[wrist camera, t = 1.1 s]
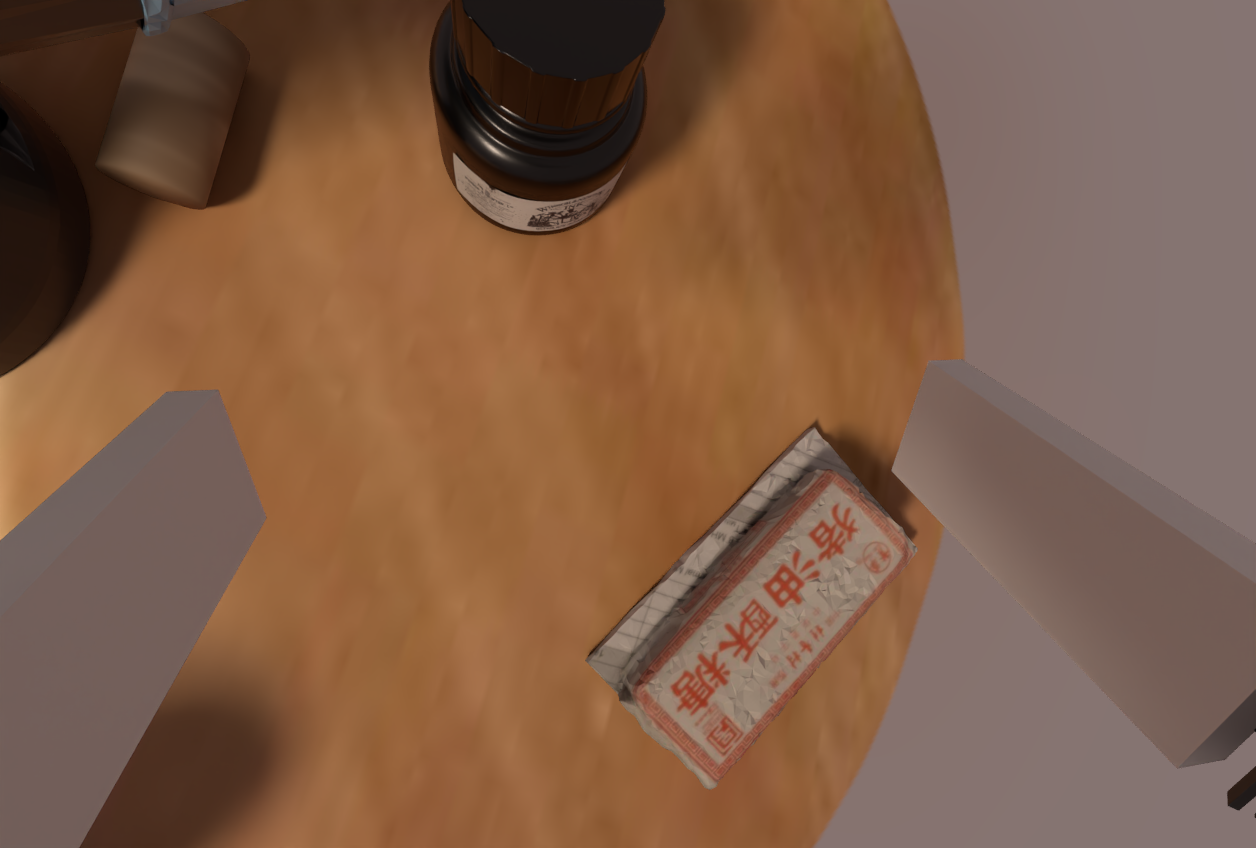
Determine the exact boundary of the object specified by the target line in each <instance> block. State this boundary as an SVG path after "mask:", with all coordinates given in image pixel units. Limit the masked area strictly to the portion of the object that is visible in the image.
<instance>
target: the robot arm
mask: <svg viewBox="0 0 1256 848" xmlns="http://www.w3.org/2000/svg"><path fill="white" fill-rule="evenodd" d="M243 1H246V0H0V56H3V55H8V54H13V53H17V52H22V51H27V50H32V49H37V48H41V47H46V46H51V45H56V44H60V43H65V42H70V41H75V40H80V39H84V38H89V37H94V36H99V35H103V34H108V33H113V32H118V31H123V30H127V29H132V28H137V27H140V28H141V29H142V31H143V33H144V34H145V35H146V36H154V35H158V34H162V33H164V32H166V31H168V29H169V27H170V24H171V21H172V20H174V19H178V18H182V17H186V16H190V15H193V14H197V13H201V12H205V11H209V10H212V9H216V8H220V7H224V6H228V5H231V4H235V3H239V2H243ZM89 247H90V221H89V212H88V207H87V202H86V197H85V194H84V190H83V187H82V184H81V181H80V179H79V176H78V173H77V171H76V169H75V167H74V165H73V163H72V161H71V159H70V157H69V155H68V154H67V152H66V150H65V148H64V147H63V145H62V144H61V142H60V141H59V139H58V138H57V136H56V135H55V134H54V132H53V131H52V130H51V129H50V127H49V126H48V125H47V124H46V122H45V121H44V120H43V119H42V118H41V117H40V116H39V115H38V114H37V113H36V111H34V110H33V109H32V108H31V107H30V106H29V105H28V104H27V103H26V102H25V101H24V100H23V99H22V98H20V97H19V96H18V95H17V94H16V93H15V92H13V91H12V90H11V89H9V88H8V87H7V86H5V85H4V84H3V83H1V82H0V375H2V374H4V373H5V372H7V371H9V370H10V369H12V368H13V367H15V366H16V365H18V364H19V363H20V362H22V361H23V360H24V359H26V358H27V357H28V356H29V355H31V354H32V353H33V352H34V351H35V350H36V349H37V348H39V347H40V346H41V345H42V344H43V343H44V342H45V341H46V339H47V338H48V337H49V336H50V335H51V334H52V333H53V332H54V330H55V329H56V328H57V327H58V326H59V324H60V323H61V321H62V320H63V318H64V317H65V316H66V314H67V312H68V311H69V309H70V307H71V306H72V304H73V302H74V300H75V298H76V296H77V294H78V291H79V289H80V286H81V283H82V281H83V278H84V274H85V270H86V267H87V262H88V256H89ZM891 471H892V472H893V473H894V474H895V475H896V476H897V477H898V478H899V480H900V481H901V482H902V483H903V484H904V485H905V486H906V487H907V488H908V489H909V490H910V491H911V492H912V493H913V494H914V495H915V496H916V497H917V498H918V499H919V500H920V501H921V502H922V503H923V505H924V506H925V507H926V508H927V509H928V510H929V511H930V512H931V513H932V514H933V515H934V516H935V517H936V518H937V519H938V520H939V521H940V522H941V523H942V524H943V525H944V526H945V527H946V528H947V529H948V531H949V532H950V533H951V534H952V535H953V536H954V537H955V538H956V539H957V540H958V541H959V542H960V543H961V544H962V545H963V546H964V547H965V548H966V549H967V550H968V551H969V552H970V553H971V555H972V556H973V557H974V558H975V559H976V560H977V561H978V562H979V563H980V564H981V565H982V566H983V567H984V568H985V569H986V570H987V571H988V572H989V573H990V574H991V575H992V576H993V577H994V578H995V580H996V581H997V582H999V584H1000V585H1001V586H1002V587H1003V588H1004V589H1005V590H1006V591H1007V592H1008V593H1009V594H1010V595H1011V596H1012V597H1013V598H1014V599H1015V600H1016V601H1017V602H1018V603H1019V605H1021V607H1022V608H1023V609H1024V610H1025V611H1026V612H1027V613H1028V614H1029V615H1030V616H1031V617H1032V618H1033V619H1034V620H1035V621H1036V622H1037V623H1038V624H1039V625H1040V626H1041V627H1042V628H1043V629H1044V631H1046V632H1047V633H1048V635H1049V636H1050V637H1051V638H1052V639H1053V640H1054V641H1055V642H1056V643H1057V644H1058V645H1059V646H1060V647H1061V648H1062V649H1063V650H1064V651H1065V652H1066V653H1067V655H1068V656H1069V657H1070V658H1071V659H1072V660H1073V661H1074V662H1075V663H1076V664H1077V665H1078V666H1079V667H1080V668H1081V669H1082V670H1083V671H1084V672H1085V673H1086V674H1087V675H1088V676H1089V677H1090V678H1091V680H1092V681H1093V682H1095V684H1096V685H1097V686H1098V687H1099V688H1100V689H1101V690H1102V691H1103V692H1104V693H1105V694H1106V695H1107V696H1108V697H1109V698H1110V699H1111V700H1112V701H1113V702H1114V703H1115V704H1116V706H1117V707H1118V708H1119V709H1120V710H1121V711H1122V712H1123V713H1124V714H1125V715H1126V716H1127V717H1128V718H1129V719H1130V720H1131V721H1132V722H1133V723H1134V724H1135V725H1136V726H1137V727H1138V728H1139V730H1140V731H1142V733H1143V734H1144V735H1145V736H1146V737H1147V738H1148V739H1149V740H1150V741H1151V742H1152V743H1153V744H1154V745H1155V746H1156V747H1157V748H1158V749H1159V750H1160V751H1161V752H1162V753H1163V755H1164V756H1165V757H1166V758H1168V760H1169V761H1170V762H1171V763H1172V764H1173V765H1174V766H1175V767H1176V768H1177V769H1178V768H1183V767H1188V766H1194V765H1199V764H1204V763H1209V762H1215V761H1220V760H1225V759H1226V758H1227V757H1228V756H1229V755H1230V754H1231V753H1233V752H1234V750H1236V749H1237V748H1238V747H1239V746H1240V745H1241V744H1242V743H1243V742H1244V741H1245V740H1246V739H1247V738H1248V737H1249V736H1250V735H1251V734H1253V733H1254V732H1256V543H1254V542H1253V541H1251V540H1249V539H1248V538H1246V537H1245V536H1243V535H1241V534H1240V533H1238V532H1236V531H1235V530H1234V529H1232V528H1230V527H1229V526H1227V525H1226V524H1224V523H1222V522H1220V521H1219V520H1217V519H1216V518H1214V517H1213V516H1211V515H1209V514H1208V513H1206V512H1205V511H1203V510H1201V509H1200V508H1198V507H1196V506H1195V505H1194V504H1192V503H1190V502H1189V501H1187V500H1186V499H1184V498H1182V497H1181V496H1179V495H1178V494H1176V493H1174V492H1173V491H1171V490H1170V489H1168V488H1166V487H1165V486H1163V485H1162V484H1160V483H1159V482H1157V481H1155V480H1154V479H1152V478H1151V477H1149V476H1147V475H1146V474H1144V473H1143V472H1141V471H1139V470H1138V469H1136V468H1135V467H1133V466H1131V465H1130V464H1128V463H1127V462H1125V461H1123V460H1122V459H1120V458H1118V457H1117V456H1115V455H1114V454H1112V453H1111V452H1109V451H1107V450H1106V449H1104V448H1103V447H1101V446H1099V445H1098V444H1096V443H1095V442H1093V441H1091V440H1090V439H1088V438H1087V437H1085V436H1084V435H1082V434H1080V433H1079V432H1077V431H1076V430H1074V429H1072V428H1071V427H1069V426H1067V425H1066V424H1064V423H1063V422H1061V421H1060V420H1058V419H1056V418H1055V417H1053V416H1052V415H1050V414H1048V413H1047V412H1045V411H1044V410H1042V409H1040V408H1039V407H1037V406H1036V405H1034V404H1032V403H1031V402H1029V401H1028V400H1026V399H1024V398H1023V397H1021V396H1020V395H1018V394H1017V393H1015V392H1013V391H1012V390H1010V389H1008V388H1007V387H1005V386H1004V385H1002V384H1001V383H999V382H997V381H996V380H994V379H993V378H991V377H989V376H988V375H986V374H985V373H983V372H981V371H980V370H978V369H977V368H975V367H973V366H972V365H970V364H969V363H967V362H965V361H964V360H962V359H961V360H936V361H929V362H928V365H927V367H926V370H925V373H924V376H923V379H922V382H921V385H920V388H919V391H918V394H917V397H916V400H915V403H914V406H913V409H912V412H911V414H910V417H909V420H908V423H907V426H906V429H905V432H904V435H903V438H902V441H901V444H900V447H899V450H898V453H897V456H896V459H895V461H894V464H893V467H892V470H891ZM265 520H266V515H265V512H264V510H263V507H262V504H261V502H260V499H259V496H258V494H257V491H256V489H255V486H254V483H253V481H252V478H251V475H250V473H249V470H248V467H247V465H246V462H245V459H244V457H243V454H242V452H241V449H240V446H239V444H238V441H237V438H236V436H235V433H234V430H233V428H232V425H231V422H230V420H229V417H228V414H227V412H226V409H225V407H224V404H223V401H222V399H221V396H220V393H219V391H218V390H199V391H174V392H166V393H165V394H164V395H162V396H161V397H160V398H159V399H158V400H157V401H156V402H155V403H153V404H152V405H151V406H150V407H149V408H148V409H147V410H146V411H145V412H143V413H142V414H141V415H140V416H139V417H138V418H137V419H136V420H135V421H133V422H132V423H131V424H130V425H129V426H128V427H127V428H126V429H124V430H123V431H122V432H121V433H120V434H119V435H118V436H117V437H116V438H114V439H113V440H112V441H111V442H110V443H109V444H108V445H107V446H105V447H104V448H103V449H102V450H101V451H100V452H99V453H98V454H97V455H95V456H94V457H93V458H92V459H91V460H90V461H89V462H88V463H86V464H85V465H84V466H83V467H82V468H81V469H80V470H79V471H78V472H76V473H75V474H74V475H73V476H72V477H71V478H70V479H69V480H67V481H66V482H65V483H64V484H63V485H62V486H61V487H60V488H59V489H57V490H56V491H55V492H54V493H53V494H52V495H51V496H50V497H48V498H47V499H46V500H45V501H44V502H43V503H42V504H41V505H40V506H38V507H37V508H36V509H35V510H34V511H33V512H32V513H31V514H30V515H28V516H27V517H26V518H25V519H24V520H23V521H22V522H21V523H19V524H18V525H17V526H16V527H15V528H14V529H13V530H12V531H11V532H9V533H8V534H7V535H6V536H5V537H4V538H3V539H2V540H0V848H79V847H80V846H81V844H82V842H83V840H84V839H85V837H86V835H87V833H88V832H89V830H90V828H91V826H92V824H93V823H94V821H95V819H96V817H97V816H98V814H99V812H100V810H101V809H102V807H103V805H104V803H105V802H106V800H107V798H108V796H109V795H110V793H111V791H112V789H113V787H114V786H115V784H116V782H117V780H118V779H119V777H120V775H121V773H122V772H123V770H124V768H125V766H126V765H127V763H128V761H129V759H130V758H131V756H132V754H133V752H134V750H135V749H136V747H137V745H138V743H139V742H140V740H141V738H142V736H143V735H144V733H145V731H146V729H147V728H148V726H149V724H150V722H151V721H152V719H153V717H154V715H155V714H156V712H157V710H158V708H159V706H160V705H161V703H162V701H163V699H164V698H165V696H166V694H167V692H168V691H169V689H170V687H171V685H172V684H173V682H174V680H175V678H176V677H177V675H178V673H179V671H180V669H181V668H182V666H183V664H184V662H185V661H186V659H187V657H188V655H189V654H190V652H191V650H192V648H193V647H194V645H195V643H196V641H197V640H198V638H199V636H200V634H201V632H202V631H203V629H204V627H205V625H206V624H207V622H208V620H209V618H210V617H211V615H212V613H213V611H214V610H215V608H216V606H217V604H218V603H219V601H220V599H221V597H222V595H223V594H224V592H225V590H226V588H227V587H228V585H229V583H230V581H231V580H232V578H233V576H234V574H235V573H236V571H237V569H238V567H239V566H240V564H241V562H242V560H243V558H244V557H245V555H246V553H247V551H248V550H249V548H250V546H251V544H252V543H253V541H254V539H255V537H256V536H257V534H258V532H259V530H260V529H261V527H262V525H263V523H264V522H265ZM1227 796H1228V806H1230V807H1232V808H1234V809H1236V810H1240V809H1241V808H1242V807H1244V806H1245V805H1246V804H1247V803H1248V802H1249V801H1251V800H1252V799H1253V798H1254V797H1255V796H1256V766H1255V767H1254V768H1253V769H1252V770H1251V771H1250V772H1249V773H1248V774H1247V775H1245V776H1244V777H1243V778H1242V779H1241V780H1240V781H1239V782H1237V783H1236V784H1235V785H1234V786H1233V787H1232V788H1231V789H1230V790H1229V791H1228V793H1227ZM1255 818H1256V813H1255Z"/></svg>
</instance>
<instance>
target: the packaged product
mask: <svg viewBox="0 0 1256 848" xmlns="http://www.w3.org/2000/svg"><path fill="white" fill-rule="evenodd" d="M917 549H918V548H917V547H916V546H915V545H914V544H913V542H912V541H911V540H910V539H909V538H908V536H907V535H906V534H905V531H904V529H903V527H901V526H900V525H898V524H897V523H895V522H894V520H893V519H892V518H891V516H890V515H889V514H888V513H887V512H886V511H885V509H884V508H883V507H882V506H881V505H880V504H879V503H878V502H877V501H876V499H875V498H874V497H873V496H872V495H871V494H870V493H869V492H868V491H867V490H866V488H865V487H864V486H863V484H862V483H861V482H860V481H859V479H858V478H857V477H856V476H855V475H854V474H853V472H852V471H851V470H850V468H849V467H848V466H847V465H846V464H845V462H844V461H843V460H842V459H841V458H840V456H839V455H838V454H837V453H836V452H835V451H834V449H833V448H832V447H831V446H830V444H829V443H828V442H826V441H825V440H824V439H822V437H821V436H820V434H819V433H818V432H817V430H816V429H815V427H813V428H809V429H807V430H806V431H805V432H804V433H803V434H802V435H801V436H800V437H799V438H798V439H797V440H796V441H795V442H793V443H792V444H791V445H790V446H789V447H788V448H787V449H786V450H785V451H784V452H783V453H782V455H781V456H780V457H779V458H778V459H777V460H776V461H775V462H774V463H773V464H772V465H771V466H770V467H769V468H768V469H767V470H766V471H765V472H764V474H763V475H762V476H761V477H760V478H759V479H758V481H757V482H756V483H755V484H754V485H753V486H752V488H751V489H750V490H749V491H748V492H747V493H746V494H745V495H744V496H743V497H742V498H741V499H740V500H739V501H738V502H737V503H736V504H735V505H734V506H733V507H731V508H730V509H729V510H728V511H727V512H726V513H725V514H724V515H723V516H722V517H721V518H720V519H719V520H718V521H717V522H716V523H715V524H714V525H713V526H712V527H711V528H710V530H709V531H708V532H707V533H706V534H705V535H704V536H702V537H701V538H700V539H699V540H698V541H697V542H696V543H695V544H694V545H692V546H691V547H690V548H689V549H688V550H687V551H686V552H685V553H684V554H683V555H682V556H681V558H680V559H679V560H678V561H676V563H675V564H674V565H673V566H672V567H671V568H670V570H669V571H668V572H667V573H666V575H665V576H664V577H663V578H662V580H661V581H660V582H659V583H658V585H657V586H656V587H655V588H654V589H653V590H651V591H650V592H649V593H648V594H647V595H646V596H645V597H644V598H643V599H642V600H641V601H640V602H639V603H638V604H637V605H636V606H635V607H634V608H633V609H632V610H631V611H630V612H629V613H628V614H627V615H626V616H625V617H624V618H623V619H622V620H621V621H620V622H619V624H618V625H617V626H616V627H615V628H614V629H613V630H612V631H611V632H610V633H609V634H608V635H607V637H606V638H605V639H604V640H603V641H602V642H601V643H600V645H599V646H598V647H597V648H596V649H595V650H594V652H593V653H592V654H591V655H589V656H588V657H587V658H586V660H585V661H586V662H587V663H588V664H589V665H590V666H591V667H592V668H593V669H594V670H595V671H596V672H597V673H598V674H599V675H600V676H601V677H602V678H603V679H604V680H605V681H606V682H607V683H608V684H609V685H610V686H611V687H612V689H613V690H614V691H615V692H616V693H617V694H618V696H619V701H620V702H621V704H622V705H623V706H624V707H625V709H626V710H627V711H629V712H630V713H631V714H633V715H634V716H635V717H636V719H637V721H638V722H639V724H640V726H641V727H642V729H643V730H644V731H645V732H646V733H647V734H648V735H649V736H651V737H652V738H653V739H654V740H655V741H656V742H657V743H659V744H660V745H661V746H662V747H663V748H665V749H668V750H670V751H672V752H673V753H674V754H675V755H676V756H677V757H678V758H679V759H680V760H681V762H682V763H683V764H684V765H685V766H686V767H687V768H688V769H690V770H691V771H692V772H693V773H695V775H696V776H697V778H698V779H699V780H700V782H701V783H702V785H703V786H704V787H705V788H707V789H709V790H710V789H713V788H715V787H716V786H717V784H718V782H719V780H720V779H722V778H723V777H724V775H725V773H726V772H727V771H728V770H729V769H730V768H731V767H732V766H733V765H734V764H735V763H736V762H737V761H738V760H740V759H741V757H742V756H743V754H744V753H745V752H746V750H747V749H748V748H749V747H750V746H752V745H753V744H755V742H756V740H757V738H758V737H759V736H760V735H761V734H762V732H763V731H764V730H765V728H766V727H767V726H768V724H769V723H770V722H771V721H773V720H774V719H775V717H777V716H779V714H780V713H781V711H782V710H783V708H784V707H785V705H786V704H787V702H788V701H789V700H790V699H791V698H792V697H793V696H794V695H796V694H797V692H798V690H799V689H800V688H801V687H802V686H803V685H804V684H805V683H806V681H807V680H808V679H809V678H810V677H811V676H812V675H813V673H814V672H815V671H816V669H817V668H819V666H820V664H821V662H823V661H824V660H826V659H827V657H828V656H829V655H830V654H831V653H832V651H833V650H834V649H835V647H836V646H837V645H838V644H839V643H840V642H841V641H842V640H843V638H844V637H845V636H846V635H847V634H848V632H849V631H850V630H851V629H852V628H853V627H854V625H855V624H856V623H857V622H858V620H859V619H860V618H861V617H862V616H863V615H864V614H865V613H866V612H867V611H868V609H869V608H870V607H871V606H872V604H873V603H874V602H875V601H876V600H877V598H878V597H879V596H880V595H881V594H882V592H883V591H884V589H885V588H886V587H887V586H888V585H889V584H890V583H891V582H892V581H893V580H894V579H895V578H896V577H897V576H898V575H899V574H900V573H901V571H902V570H903V569H904V568H905V567H906V566H907V565H908V564H909V561H910V559H911V558H912V557H913V556H914V555H915V553H916V552H917Z"/></svg>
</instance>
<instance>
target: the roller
mask: <svg viewBox="0 0 1256 848" xmlns="http://www.w3.org/2000/svg"><path fill="white" fill-rule="evenodd" d="M249 60H250V54H249V52H248V50H247V48H246V47H245V45H244V44H243V43H242V42H241V41H240V40H239V39H238V38H237V37H236V36H235V35H234V34H233V33H232V32H230V31H229V30H228V29H227V28H225V27H224V26H223V25H221V24H220V23H218V22H217V21H215V20H214V19H212V18H211V17H209V16H207V15H206V14H204V13H202V12H201V13H197V14H193V15H190V16H186V17H182V18H178V19H174V20H172V21H171V24H170V27H169V29H168V31H166V32H164V33H162V34H158V35H154V36H146V35H145V34H144V33H143V31H142V29H141V28H140V27H138V28H137V32H136V35H135V38H134V41H133V44H132V48H131V51H130V54H129V57H128V60H127V64H126V67H125V70H124V73H123V76H122V80H121V83H120V86H119V89H118V92H117V96H116V99H115V102H114V105H113V108H112V112H111V115H110V118H109V121H108V124H107V128H106V131H105V134H104V137H103V141H102V144H101V147H100V150H99V153H98V157H97V160H96V163H95V167H96V168H97V169H98V170H99V171H101V172H102V173H103V174H105V175H107V176H108V177H110V178H112V179H114V180H116V181H118V182H120V183H122V184H124V185H126V186H128V187H130V188H132V189H135V190H137V191H140V192H142V193H144V194H147V195H149V196H152V197H155V198H157V199H161V200H164V201H168V202H171V203H174V204H178V205H181V206H184V207H188V208H192V209H199V210H203V209H205V208H206V205H207V201H208V198H209V194H210V191H211V188H212V184H213V181H214V178H215V174H216V171H217V167H218V164H219V161H220V157H221V154H222V151H223V147H224V144H225V141H226V137H227V134H228V130H229V127H230V124H231V120H232V117H233V114H234V110H235V107H236V104H237V100H238V97H239V93H240V90H241V87H242V83H243V80H244V77H245V73H246V70H247V67H248V63H249Z"/></svg>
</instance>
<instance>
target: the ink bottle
mask: <svg viewBox="0 0 1256 848" xmlns="http://www.w3.org/2000/svg"><path fill="white" fill-rule="evenodd" d="M664 1H665V0H450V2H449V3H448V4H447V6H446V7H445V9H444V10H443V12H442V14H441V15H440V17H439V20H438V22H437V24H436V27H435V30H434V33H433V37H432V42H431V48H430V59H429V71H430V83H431V90H432V96H433V103H434V109H435V115H436V122H437V128H438V135H439V141H440V147H441V153H442V157H443V161H444V164H445V167H446V170H447V172H448V174H449V177H450V179H451V181H452V183H453V184H454V186H455V188H456V189H457V191H458V192H459V194H460V195H461V197H462V198H463V199H464V201H465V202H466V203H467V204H468V205H469V206H470V207H471V208H472V209H473V210H474V211H475V212H476V213H477V214H478V215H480V216H481V217H482V218H484V219H485V220H487V221H488V222H490V223H492V224H493V225H495V226H497V227H500V228H502V229H505V230H507V231H511V232H515V233H519V234H525V235H549V234H556V233H560V232H564V231H567V230H569V229H572V228H574V227H576V226H578V225H580V224H582V223H583V222H585V221H587V220H588V219H589V218H591V217H592V216H593V215H594V214H595V213H596V212H597V211H598V210H599V209H600V208H601V207H602V206H603V204H604V203H605V201H606V200H607V198H608V197H609V195H610V193H611V191H612V190H613V188H614V186H615V184H616V182H617V180H618V178H619V177H620V175H621V173H622V171H623V169H624V167H625V165H626V164H627V162H628V160H629V158H630V156H631V154H632V152H633V150H634V148H635V146H636V144H637V142H638V140H639V137H640V135H641V132H642V128H643V125H644V121H645V115H646V108H647V85H646V77H645V71H644V67H643V64H644V61H645V59H646V57H647V55H648V52H649V50H650V48H651V45H652V43H653V41H654V39H655V36H656V34H657V32H658V29H659V27H660V25H661V23H662V20H663V18H664V15H665V6H664Z"/></svg>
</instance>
